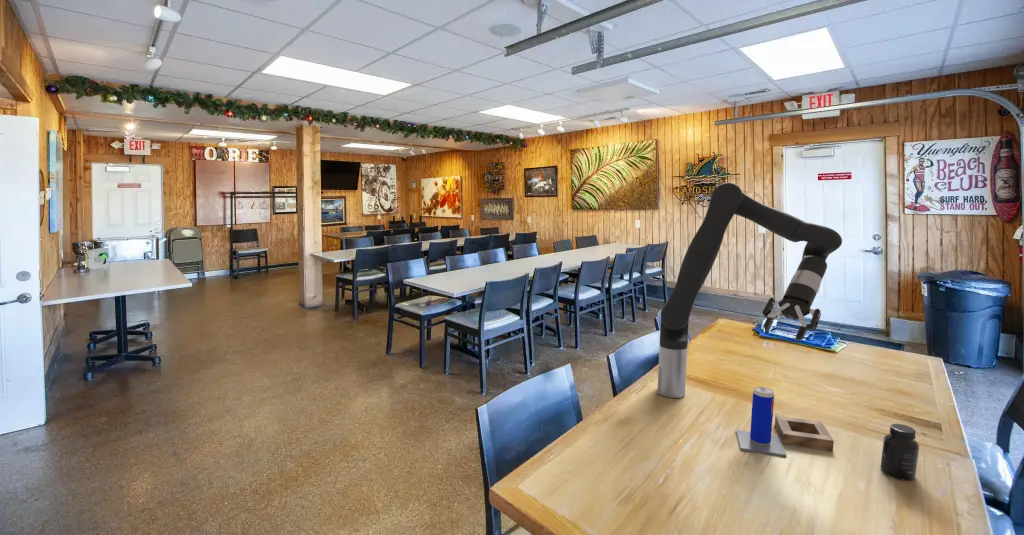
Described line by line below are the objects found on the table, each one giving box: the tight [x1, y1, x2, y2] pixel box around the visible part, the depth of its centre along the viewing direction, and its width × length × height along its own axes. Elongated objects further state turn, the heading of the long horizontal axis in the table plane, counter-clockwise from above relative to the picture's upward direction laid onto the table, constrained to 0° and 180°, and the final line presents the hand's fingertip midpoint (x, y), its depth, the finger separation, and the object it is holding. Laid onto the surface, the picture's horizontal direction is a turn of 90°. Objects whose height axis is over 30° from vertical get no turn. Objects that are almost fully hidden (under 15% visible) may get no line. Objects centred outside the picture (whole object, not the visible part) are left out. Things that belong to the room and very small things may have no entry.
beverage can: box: [749, 386, 775, 445], centre depth 132 cm, size 5×5×15 cm
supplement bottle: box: [880, 423, 920, 481], centre depth 117 cm, size 7×7×12 cm
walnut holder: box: [774, 415, 835, 452], centre depth 136 cm, size 12×12×3 cm
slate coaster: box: [735, 429, 787, 458], centre depth 133 cm, size 11×11×1 cm
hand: (781, 335), depth 138 cm, fingers open, 8 cm apart
